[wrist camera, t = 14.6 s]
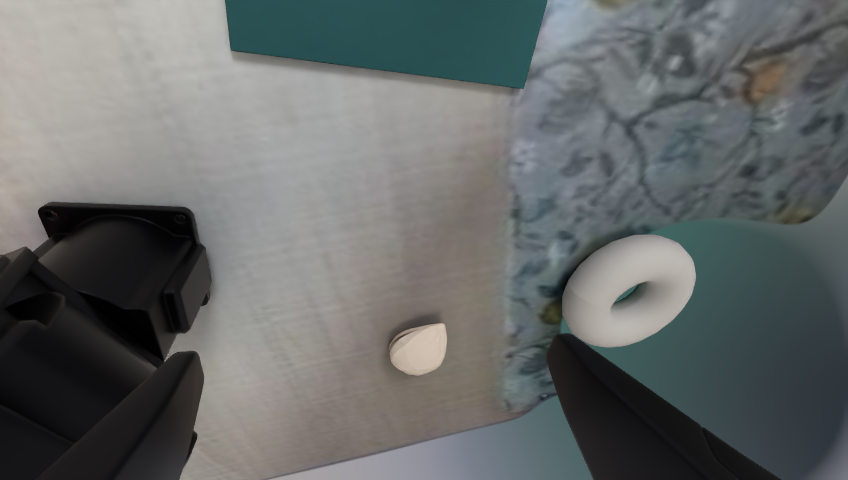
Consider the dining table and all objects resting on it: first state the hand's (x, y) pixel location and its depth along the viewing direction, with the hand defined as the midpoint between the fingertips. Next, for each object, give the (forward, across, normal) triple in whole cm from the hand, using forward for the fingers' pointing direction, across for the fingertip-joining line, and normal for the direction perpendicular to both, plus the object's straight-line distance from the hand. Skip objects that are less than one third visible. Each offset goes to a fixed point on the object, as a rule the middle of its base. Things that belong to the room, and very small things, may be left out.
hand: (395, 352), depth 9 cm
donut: (+13, -20, +8) cm, 25 cm away
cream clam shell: (+13, -5, +13) cm, 19 cm away
